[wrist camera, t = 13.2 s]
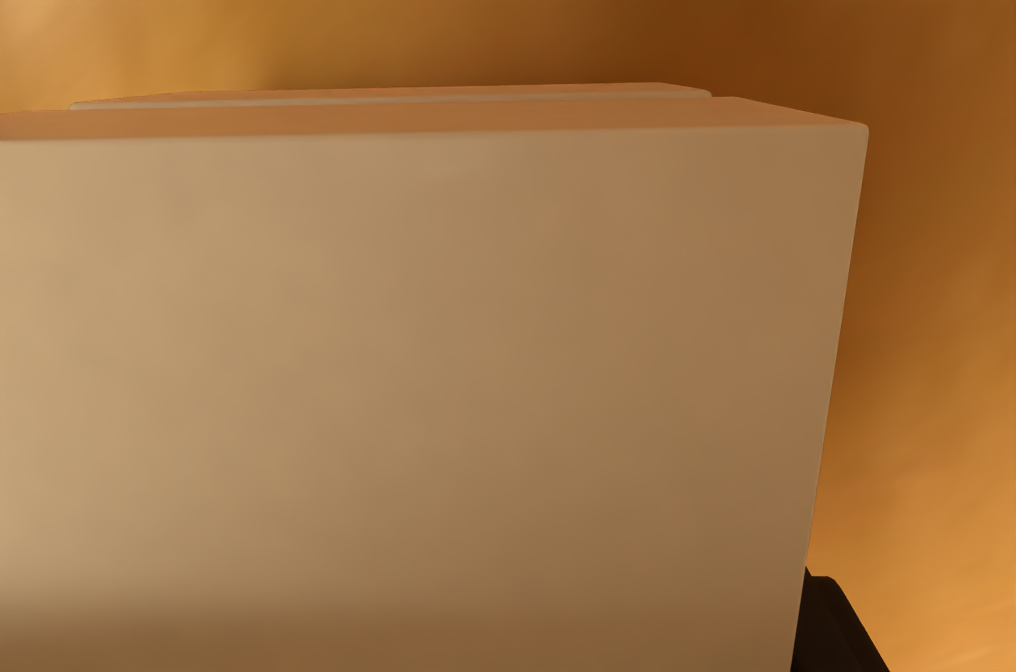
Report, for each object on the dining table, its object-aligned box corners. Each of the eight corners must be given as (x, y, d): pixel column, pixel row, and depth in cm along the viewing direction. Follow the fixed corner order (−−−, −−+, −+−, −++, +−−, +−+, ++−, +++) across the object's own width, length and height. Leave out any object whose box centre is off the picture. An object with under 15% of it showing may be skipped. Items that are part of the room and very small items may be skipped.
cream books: (246, 85, 14) (53, 103, 8) (634, 77, 13) (715, 89, 8) (318, 620, 18) (225, 878, 12) (615, 619, 18) (658, 880, 12)
